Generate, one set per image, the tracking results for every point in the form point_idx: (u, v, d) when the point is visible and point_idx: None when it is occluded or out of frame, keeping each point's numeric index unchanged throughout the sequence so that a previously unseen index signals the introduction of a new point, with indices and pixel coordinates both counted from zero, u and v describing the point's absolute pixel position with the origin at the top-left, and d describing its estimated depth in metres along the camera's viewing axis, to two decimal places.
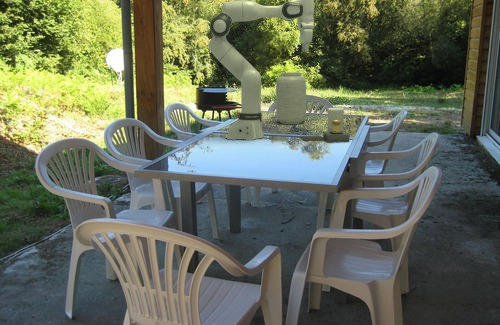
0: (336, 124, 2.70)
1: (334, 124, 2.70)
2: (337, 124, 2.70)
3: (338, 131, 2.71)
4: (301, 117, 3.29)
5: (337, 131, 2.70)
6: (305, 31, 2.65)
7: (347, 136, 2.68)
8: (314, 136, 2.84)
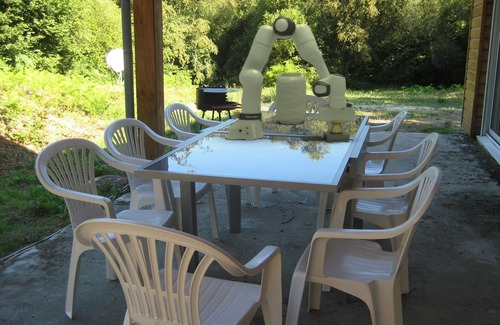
0: (336, 124, 2.70)
1: (334, 124, 2.70)
2: (337, 124, 2.70)
3: (338, 131, 2.71)
4: (301, 117, 3.29)
5: (337, 131, 2.70)
6: (354, 110, 2.69)
7: (347, 136, 2.68)
8: (314, 136, 2.84)
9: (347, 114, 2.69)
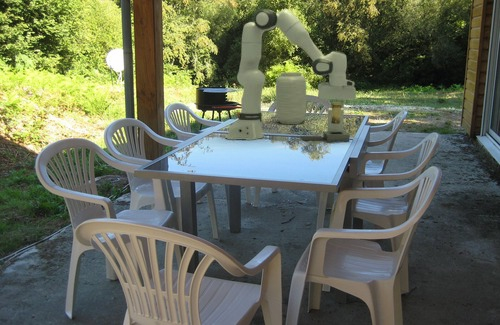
0: (336, 106, 2.67)
1: (334, 106, 2.68)
2: (337, 106, 2.67)
3: (338, 114, 2.68)
4: (301, 117, 3.29)
5: (337, 113, 2.68)
6: None
7: (347, 136, 2.68)
8: (314, 136, 2.84)
9: (347, 92, 2.66)
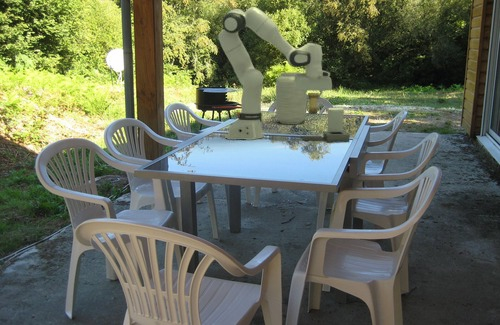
0: (313, 97, 2.72)
1: (311, 97, 2.72)
2: (314, 97, 2.72)
3: (315, 104, 2.73)
4: (301, 117, 3.29)
5: (314, 104, 2.73)
6: (330, 79, 2.71)
7: (347, 136, 2.68)
8: (314, 136, 2.84)
9: (324, 83, 2.71)
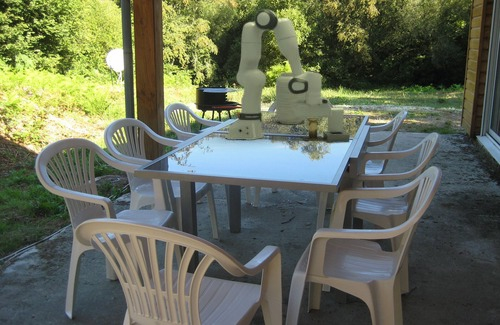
0: (313, 122, 2.75)
1: (311, 122, 2.75)
2: (314, 122, 2.75)
3: (314, 129, 2.76)
4: (301, 117, 3.29)
5: (314, 129, 2.76)
6: (330, 106, 2.74)
7: (347, 136, 2.68)
8: None
9: (323, 110, 2.74)
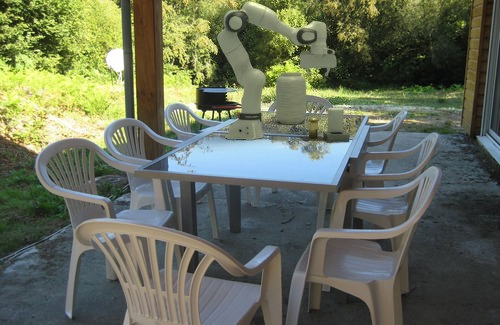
0: (313, 122, 2.75)
1: (311, 122, 2.75)
2: (314, 122, 2.75)
3: (315, 129, 2.76)
4: (301, 117, 3.29)
5: (314, 129, 2.76)
6: (335, 57, 2.77)
7: (347, 136, 2.68)
8: None
9: (328, 61, 2.77)
